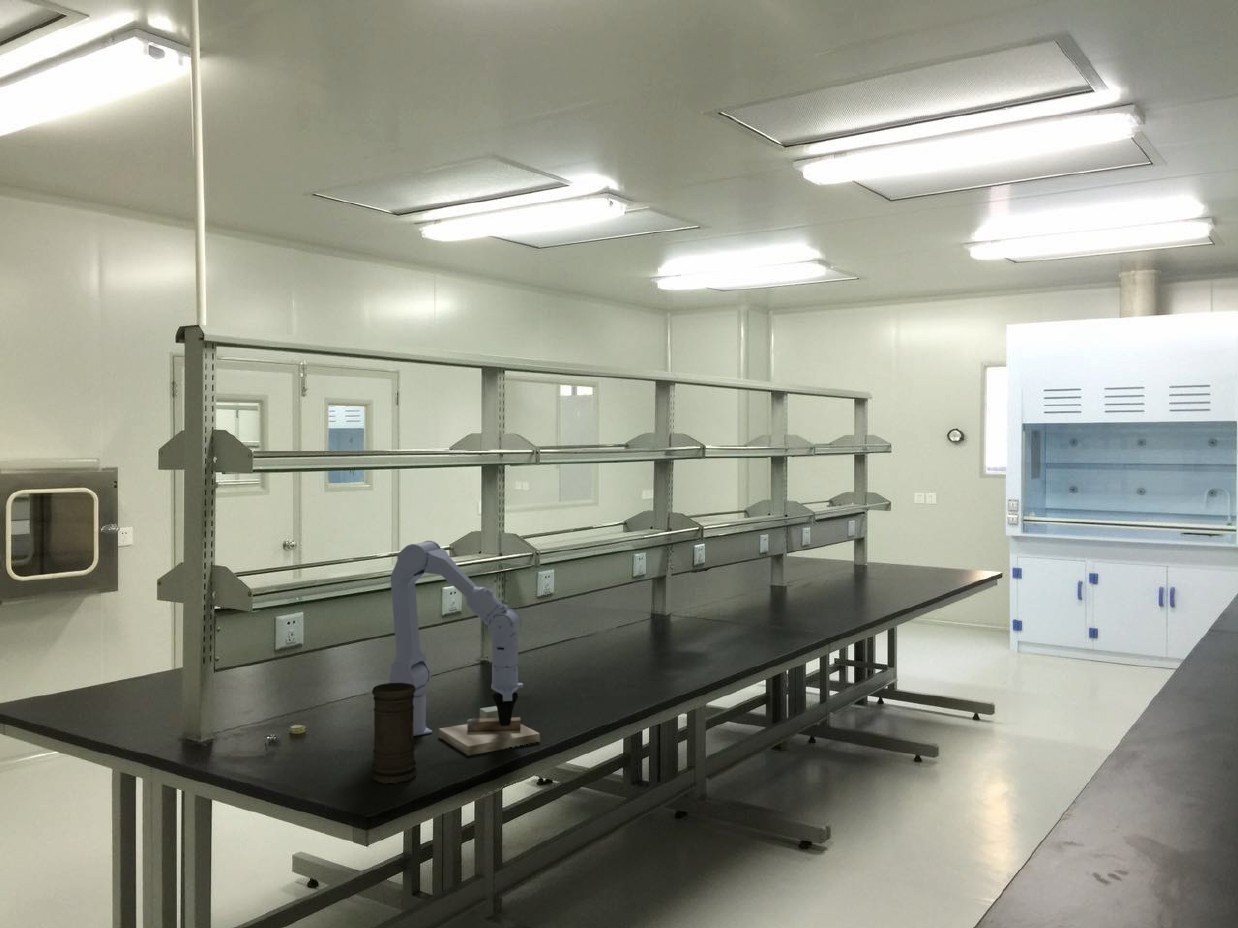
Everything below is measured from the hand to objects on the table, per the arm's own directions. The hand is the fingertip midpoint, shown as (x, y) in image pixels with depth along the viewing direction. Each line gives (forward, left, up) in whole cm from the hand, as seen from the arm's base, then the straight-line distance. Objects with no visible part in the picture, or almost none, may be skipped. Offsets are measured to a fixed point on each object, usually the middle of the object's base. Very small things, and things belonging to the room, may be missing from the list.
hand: (504, 725), depth 223 cm
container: (-30, -10, -4) cm, 31 cm away
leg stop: (+1, +8, -1) cm, 8 cm away
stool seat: (-3, +2, -3) cm, 5 cm away
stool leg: (-1, +2, -1) cm, 3 cm away
